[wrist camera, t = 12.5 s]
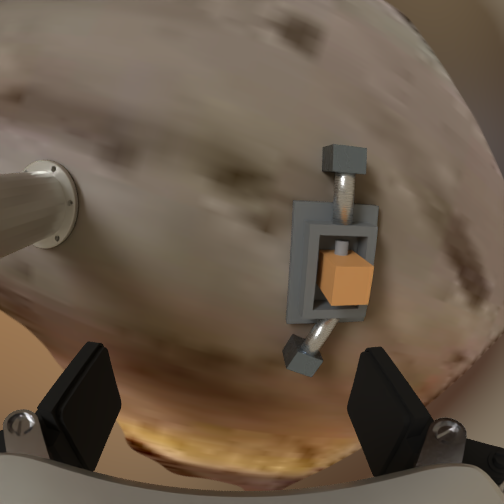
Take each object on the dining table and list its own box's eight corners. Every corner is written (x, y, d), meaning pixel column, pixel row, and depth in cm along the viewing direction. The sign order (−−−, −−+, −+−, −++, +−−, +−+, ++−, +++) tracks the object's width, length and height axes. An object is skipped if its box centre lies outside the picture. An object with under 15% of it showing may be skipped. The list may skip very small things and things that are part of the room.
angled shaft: (314, 298, 40) (322, 313, 36) (338, 309, 41) (347, 324, 36) (282, 350, 42) (286, 368, 38) (305, 359, 43) (311, 377, 38)
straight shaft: (349, 220, 37) (362, 226, 33) (319, 219, 37) (329, 225, 33) (353, 150, 35) (366, 148, 31) (322, 147, 35) (333, 144, 31)
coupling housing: (285, 319, 41) (290, 334, 37) (293, 200, 37) (299, 203, 33) (360, 317, 41) (371, 331, 37) (374, 205, 37) (389, 209, 33)
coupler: (315, 294, 39) (329, 319, 32) (320, 236, 37) (337, 251, 30) (346, 294, 39) (365, 317, 32) (353, 237, 37) (375, 252, 30)
